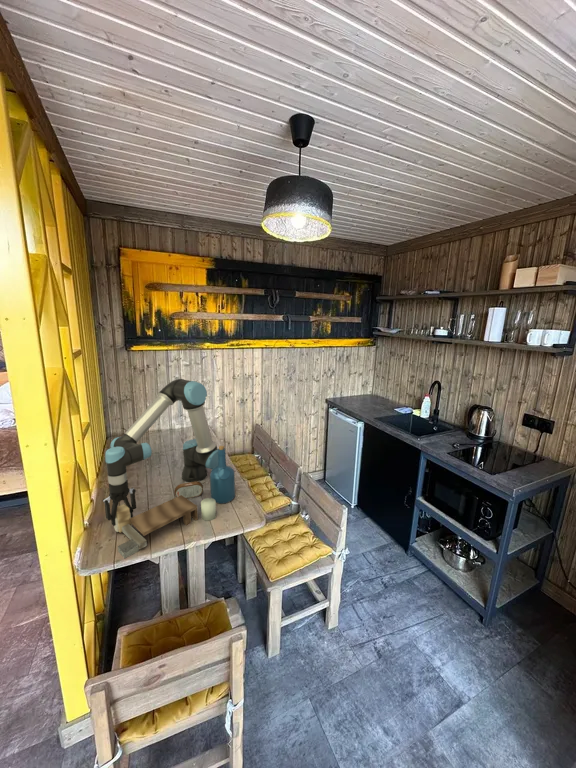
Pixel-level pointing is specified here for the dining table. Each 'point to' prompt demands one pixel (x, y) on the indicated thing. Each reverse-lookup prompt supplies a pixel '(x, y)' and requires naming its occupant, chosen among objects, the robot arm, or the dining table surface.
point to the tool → (128, 526)
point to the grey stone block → (128, 548)
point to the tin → (189, 489)
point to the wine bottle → (222, 480)
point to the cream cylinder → (208, 509)
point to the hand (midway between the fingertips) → (123, 527)
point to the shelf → (165, 515)
